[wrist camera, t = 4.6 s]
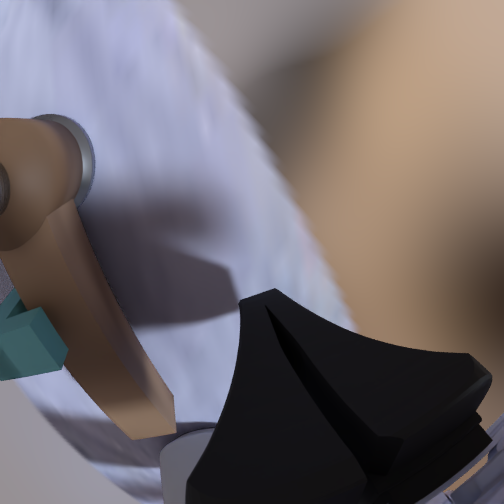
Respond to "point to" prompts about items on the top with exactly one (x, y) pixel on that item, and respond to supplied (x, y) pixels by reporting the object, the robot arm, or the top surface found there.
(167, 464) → the beverage can
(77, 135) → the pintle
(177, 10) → the top surface
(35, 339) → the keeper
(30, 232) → the latch bar
